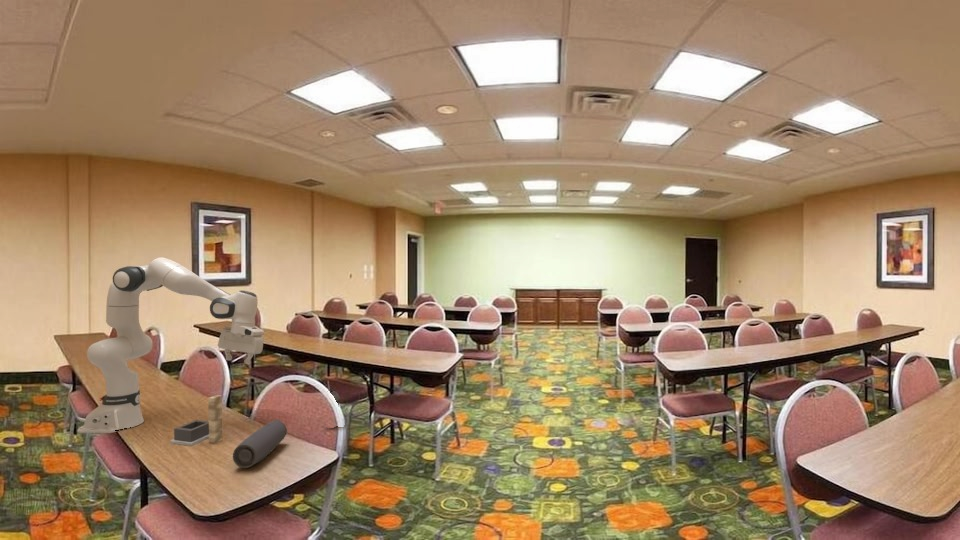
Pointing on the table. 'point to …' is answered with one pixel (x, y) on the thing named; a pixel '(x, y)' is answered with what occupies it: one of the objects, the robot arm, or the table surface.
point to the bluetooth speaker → (259, 444)
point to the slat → (215, 419)
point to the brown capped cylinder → (334, 394)
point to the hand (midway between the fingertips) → (237, 361)
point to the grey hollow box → (191, 433)
